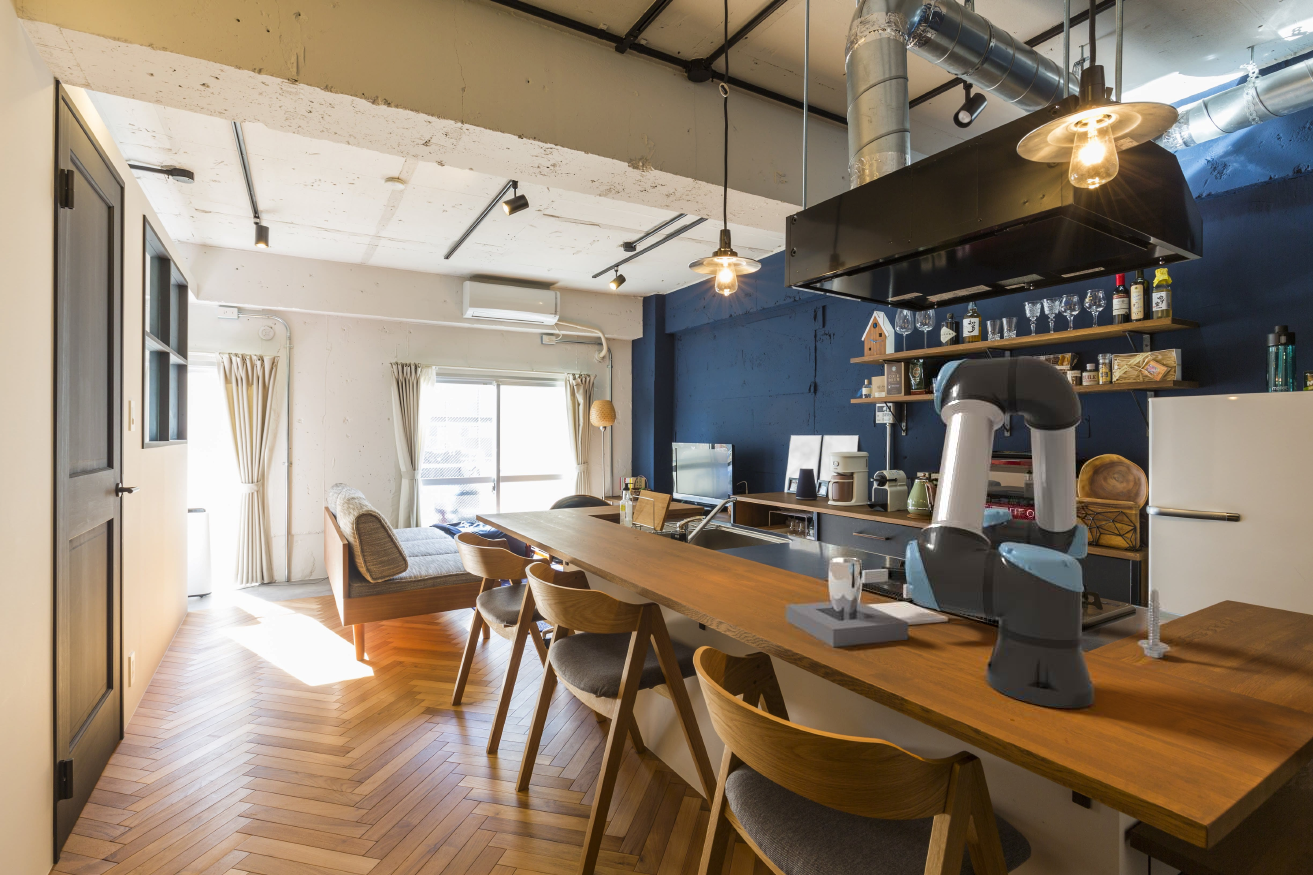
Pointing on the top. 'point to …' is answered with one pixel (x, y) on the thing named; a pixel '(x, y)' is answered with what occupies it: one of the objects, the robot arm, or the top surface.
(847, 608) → the metal tumbler
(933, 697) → the top surface
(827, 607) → the pocket holder
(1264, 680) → the top surface
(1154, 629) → the screw
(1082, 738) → the top surface
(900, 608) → the stone tile
